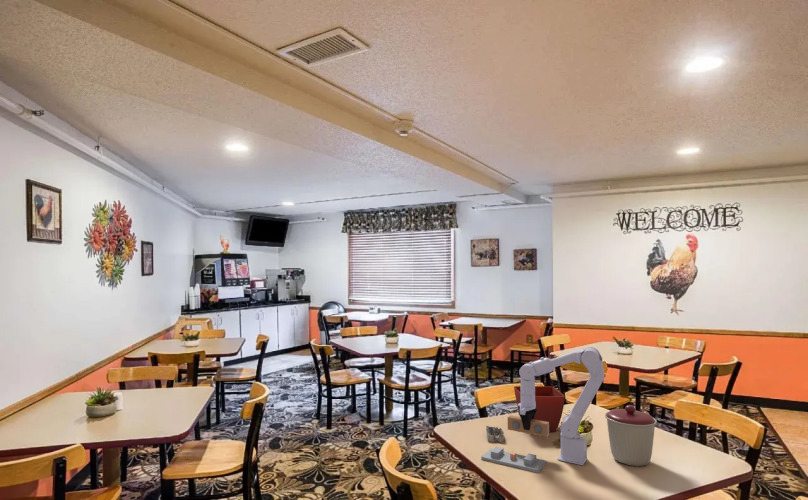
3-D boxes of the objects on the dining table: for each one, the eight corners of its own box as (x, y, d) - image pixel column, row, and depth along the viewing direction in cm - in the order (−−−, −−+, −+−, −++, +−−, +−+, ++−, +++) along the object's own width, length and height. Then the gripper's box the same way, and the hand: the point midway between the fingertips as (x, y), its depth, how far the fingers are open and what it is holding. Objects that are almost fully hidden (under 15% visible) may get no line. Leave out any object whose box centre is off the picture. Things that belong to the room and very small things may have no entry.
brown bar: (549, 434, 185) (549, 422, 186) (546, 437, 183) (546, 424, 183) (510, 427, 194) (510, 415, 194) (507, 429, 191) (507, 417, 191)
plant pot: (513, 420, 227) (513, 385, 228) (552, 420, 227) (552, 385, 228) (523, 434, 208) (523, 396, 209) (566, 434, 208) (565, 396, 209)
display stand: (545, 463, 177) (545, 455, 178) (538, 472, 169) (538, 464, 169) (491, 450, 189) (491, 443, 189) (481, 459, 181) (481, 451, 181)
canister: (664, 461, 179) (663, 405, 180) (647, 475, 167) (645, 415, 168) (616, 448, 193) (616, 396, 194) (597, 460, 180) (596, 405, 181)
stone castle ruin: (504, 443, 199) (504, 433, 199) (486, 442, 200) (486, 432, 200) (503, 434, 209) (503, 425, 209) (486, 433, 210) (486, 424, 210)
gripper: (523, 389, 197) (523, 421, 197) (512, 396, 185) (512, 431, 185) (540, 391, 194) (540, 424, 193) (529, 399, 181) (530, 435, 181)
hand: (528, 428), depth 189 cm, fingers closed on brown bar, 3 cm apart
